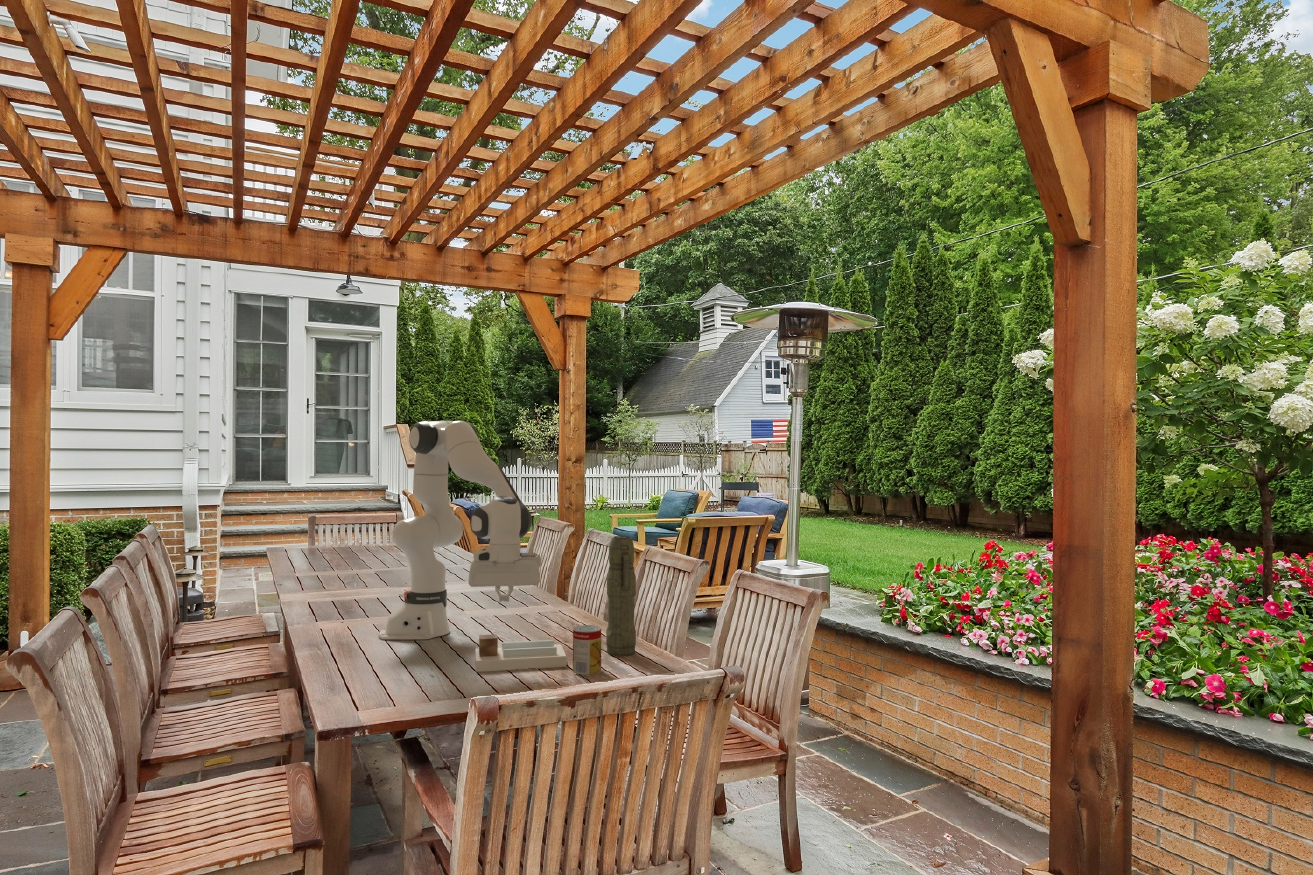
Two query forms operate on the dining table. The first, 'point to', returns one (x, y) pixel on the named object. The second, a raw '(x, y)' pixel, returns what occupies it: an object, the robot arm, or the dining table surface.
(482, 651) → the walnut block
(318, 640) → the dining table surface
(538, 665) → the channel
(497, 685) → the dining table surface
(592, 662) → the canned food
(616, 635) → the thermos
